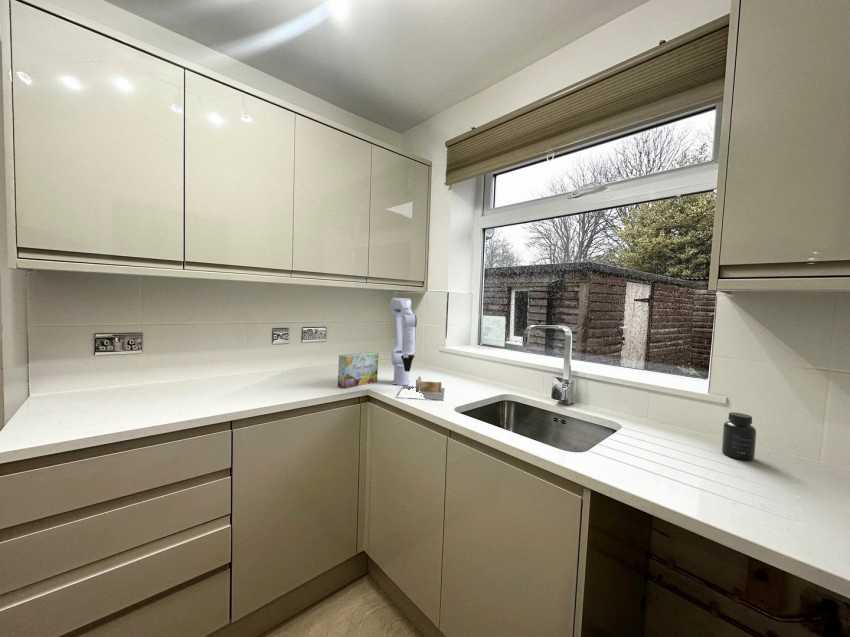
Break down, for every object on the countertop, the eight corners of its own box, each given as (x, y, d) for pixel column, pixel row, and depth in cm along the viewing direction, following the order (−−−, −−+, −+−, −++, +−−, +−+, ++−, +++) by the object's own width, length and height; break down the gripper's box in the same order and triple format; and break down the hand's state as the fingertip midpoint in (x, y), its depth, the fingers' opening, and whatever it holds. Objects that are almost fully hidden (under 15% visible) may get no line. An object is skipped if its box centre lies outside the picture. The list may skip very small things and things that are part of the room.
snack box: (345, 389, 155) (345, 356, 154) (337, 387, 158) (338, 354, 157) (378, 381, 171) (379, 352, 171) (370, 380, 175) (371, 351, 174)
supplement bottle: (718, 449, 101) (721, 409, 100) (749, 455, 97) (752, 413, 97) (724, 457, 95) (728, 415, 94) (758, 464, 91) (761, 420, 91)
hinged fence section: (419, 391, 151) (419, 381, 151) (419, 391, 153) (420, 381, 153) (441, 392, 151) (441, 382, 151) (441, 392, 152) (441, 382, 152)
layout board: (403, 386, 163) (403, 374, 163) (444, 389, 161) (445, 376, 161) (395, 397, 143) (396, 383, 143) (443, 400, 141) (443, 386, 141)
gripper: (415, 343, 145) (414, 374, 146) (418, 340, 160) (417, 368, 160) (399, 342, 146) (398, 374, 146) (404, 339, 160) (403, 367, 161)
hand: (407, 371), depth 153 cm, fingers closed
